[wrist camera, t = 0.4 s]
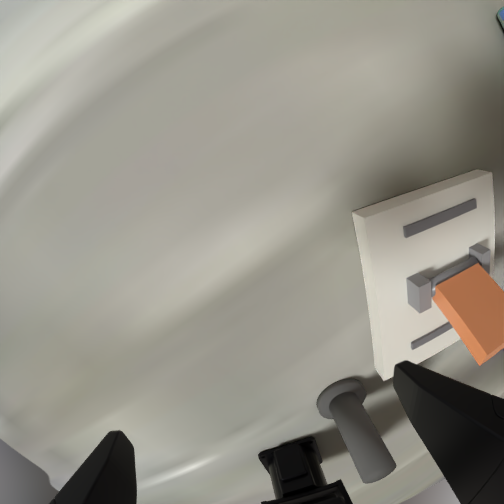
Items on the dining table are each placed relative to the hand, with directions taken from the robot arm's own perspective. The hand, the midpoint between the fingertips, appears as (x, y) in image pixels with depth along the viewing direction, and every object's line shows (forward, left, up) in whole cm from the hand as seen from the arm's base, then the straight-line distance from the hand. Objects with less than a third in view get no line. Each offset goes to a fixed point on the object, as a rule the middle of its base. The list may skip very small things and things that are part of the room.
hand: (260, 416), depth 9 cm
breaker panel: (-8, -16, -14) cm, 23 cm away
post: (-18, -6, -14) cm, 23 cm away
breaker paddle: (-7, -17, -11) cm, 21 cm away
